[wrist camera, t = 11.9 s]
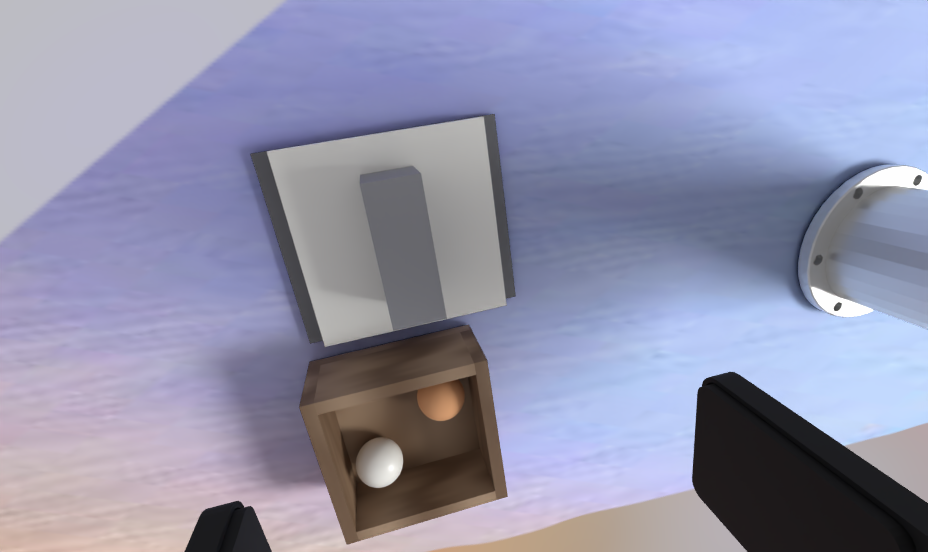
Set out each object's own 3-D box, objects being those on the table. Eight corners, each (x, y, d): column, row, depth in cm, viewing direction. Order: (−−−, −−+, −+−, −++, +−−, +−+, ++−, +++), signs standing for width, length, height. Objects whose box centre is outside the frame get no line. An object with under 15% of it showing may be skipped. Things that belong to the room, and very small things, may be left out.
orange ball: (455, 357, 30) (465, 383, 27) (462, 395, 32) (472, 424, 29) (410, 369, 30) (415, 395, 27) (419, 407, 31) (424, 436, 28)
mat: (492, 114, 26) (494, 114, 26) (513, 294, 31) (515, 296, 30) (252, 153, 24) (250, 153, 24) (311, 340, 29) (310, 343, 28)
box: (468, 324, 31) (487, 360, 26) (488, 446, 35) (507, 496, 30) (309, 361, 29) (299, 407, 24) (349, 485, 33) (346, 544, 28)
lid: (479, 117, 26) (504, 115, 21) (502, 299, 30) (527, 331, 26) (270, 150, 24) (248, 157, 19) (326, 339, 28) (318, 381, 24)
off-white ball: (396, 422, 31) (399, 454, 28) (405, 457, 32) (409, 491, 29) (351, 434, 31) (349, 467, 28) (361, 469, 32) (361, 504, 29)
